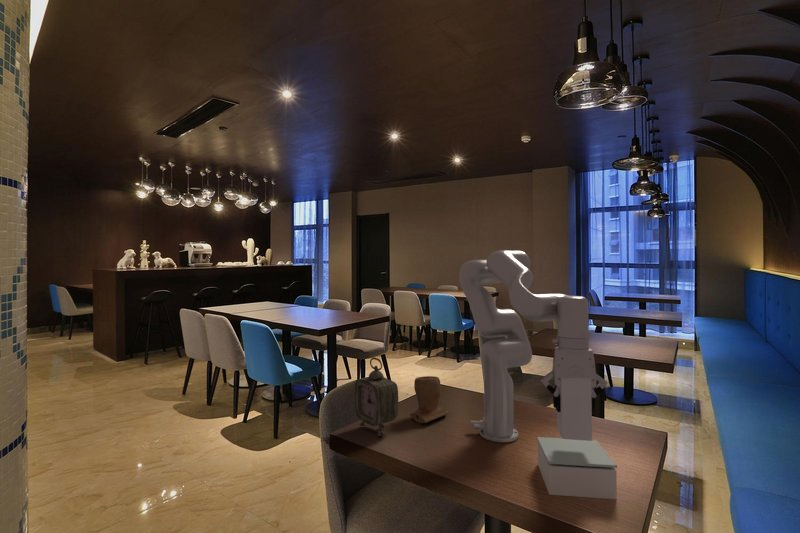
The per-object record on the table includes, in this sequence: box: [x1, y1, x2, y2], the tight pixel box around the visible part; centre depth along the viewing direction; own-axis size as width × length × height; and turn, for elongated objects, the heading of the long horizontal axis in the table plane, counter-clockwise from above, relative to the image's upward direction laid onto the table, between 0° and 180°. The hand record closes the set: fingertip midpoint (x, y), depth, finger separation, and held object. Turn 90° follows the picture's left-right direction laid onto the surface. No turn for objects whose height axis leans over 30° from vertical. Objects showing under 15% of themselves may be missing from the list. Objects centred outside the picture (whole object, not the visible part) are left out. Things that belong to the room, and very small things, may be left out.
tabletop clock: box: [354, 357, 400, 437], centre depth 143 cm, size 14×9×25 cm, turn 38°
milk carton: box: [556, 378, 593, 441], centre depth 109 cm, size 7×7×19 cm
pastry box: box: [537, 441, 618, 500], centre depth 109 cm, size 16×16×7 cm
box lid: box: [536, 436, 618, 469], centre depth 109 cm, size 16×16×1 cm
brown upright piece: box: [409, 375, 449, 424], centre depth 155 cm, size 15×12×15 cm
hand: (573, 410), depth 109 cm, fingers closed on milk carton, 7 cm apart
